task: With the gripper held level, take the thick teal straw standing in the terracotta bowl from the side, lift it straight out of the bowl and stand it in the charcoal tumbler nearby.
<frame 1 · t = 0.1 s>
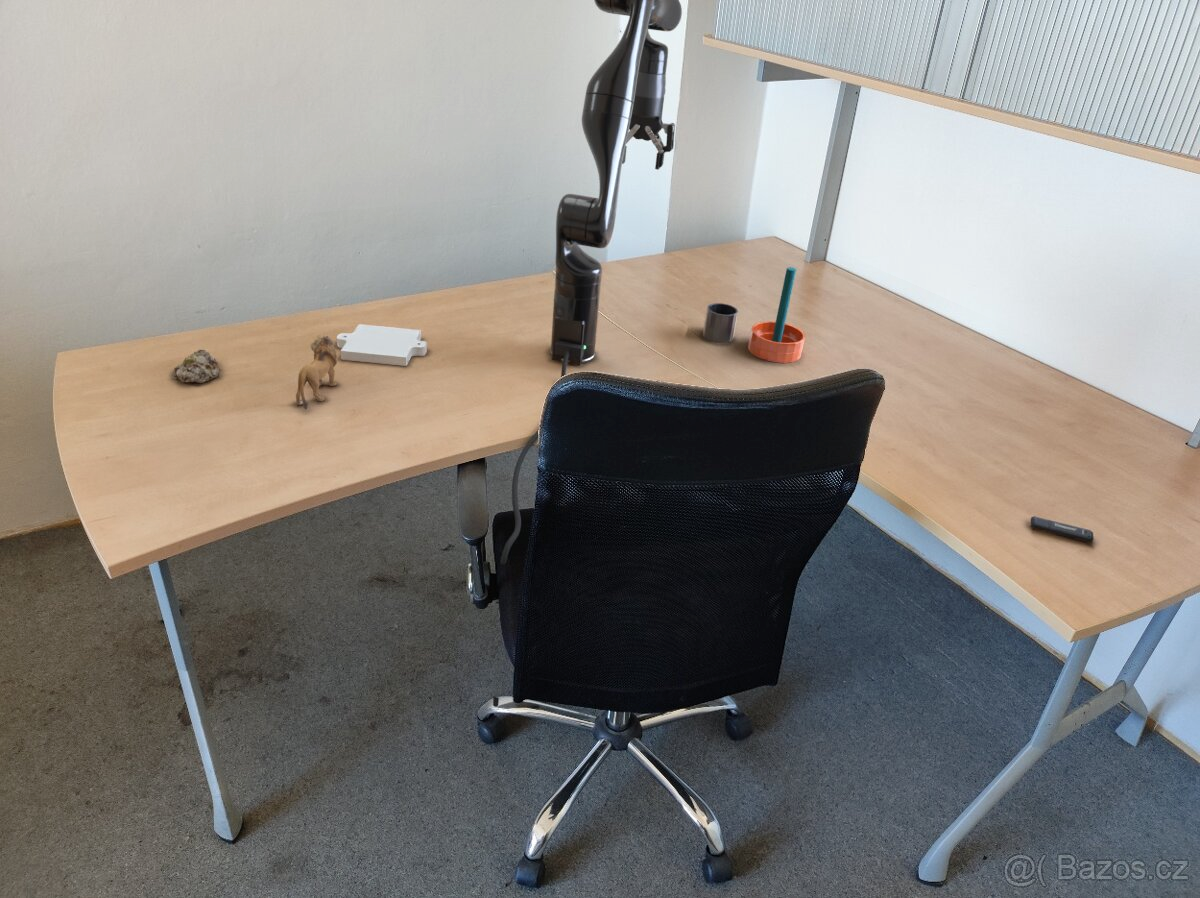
hand: (640, 165, 208), 29 cm above the table, tool pointing down, fingers open, 8 cm apart
usb stick: (1059, 533, 145), on the table
bowl: (773, 353, 196), on the table
mineral rock: (199, 373, 166), on the table
crystal cluster: (666, 425, 165), on the table
mounting plate: (382, 349, 181), on the table
lion figurine: (317, 392, 164), on the table
tumbler: (717, 338, 200), on the table
straw: (774, 350, 195), resting on bowl
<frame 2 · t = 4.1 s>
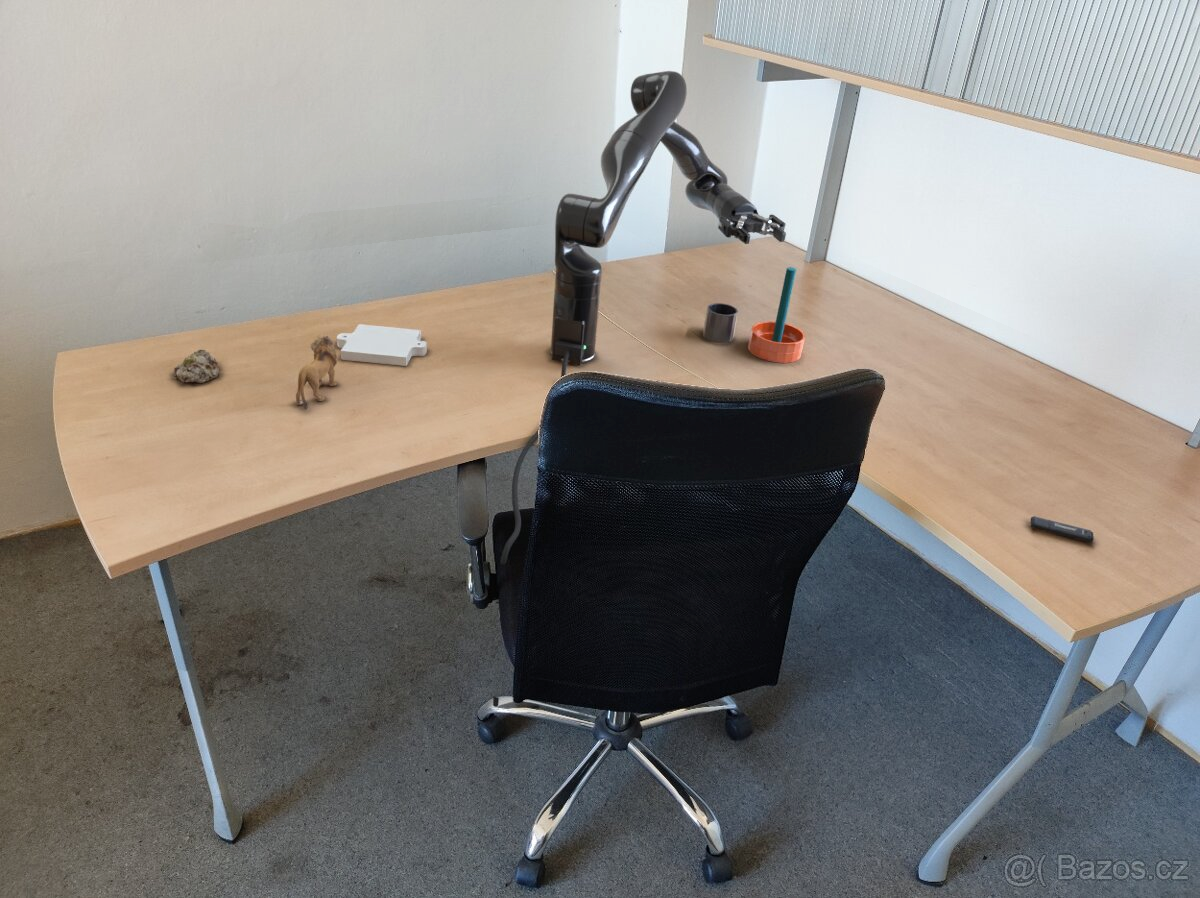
hand: (766, 238, 193), 22 cm above the table, tool horizontal, fingers open, 8 cm apart
nothing on the table moved.
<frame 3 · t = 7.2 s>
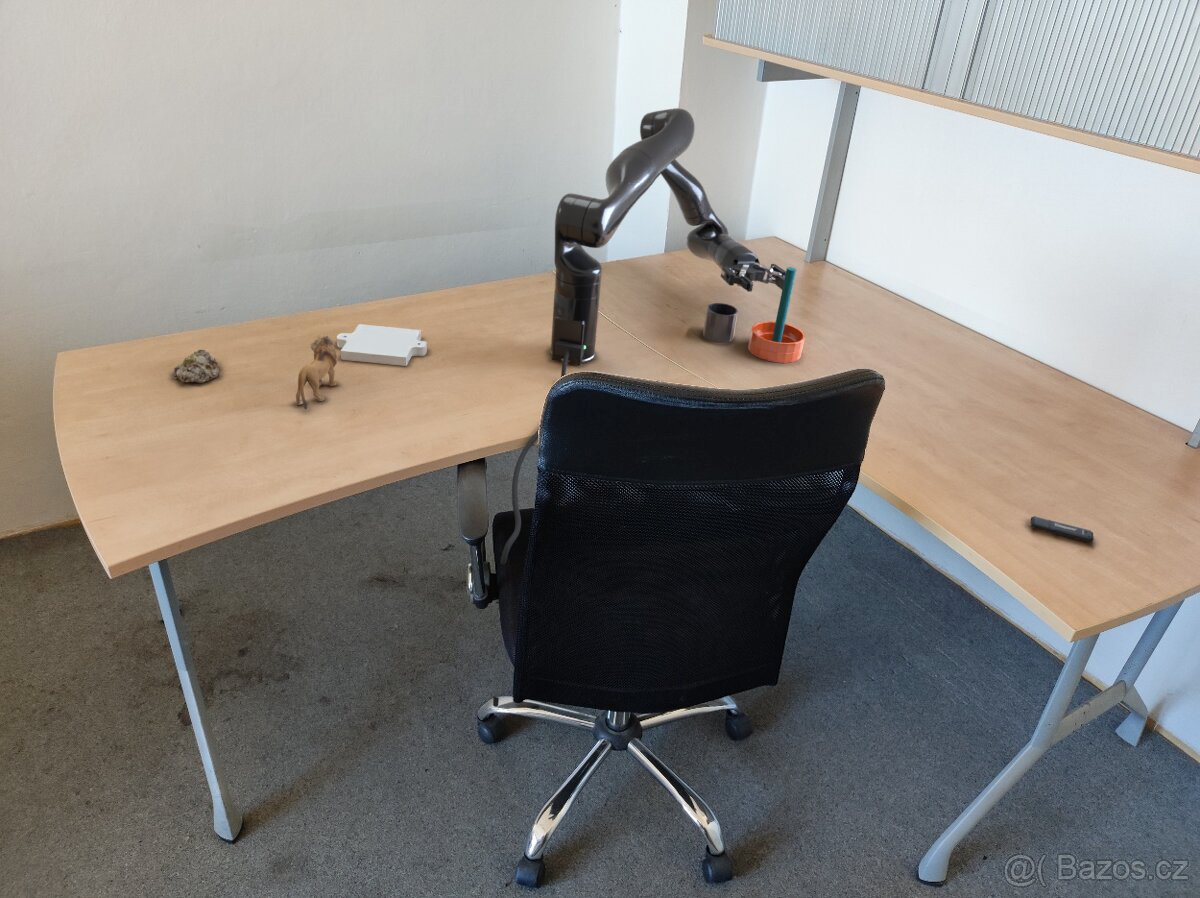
hand: (768, 286, 195), 12 cm above the table, tool horizontal, fingers open, 8 cm apart
nothing on the table moved.
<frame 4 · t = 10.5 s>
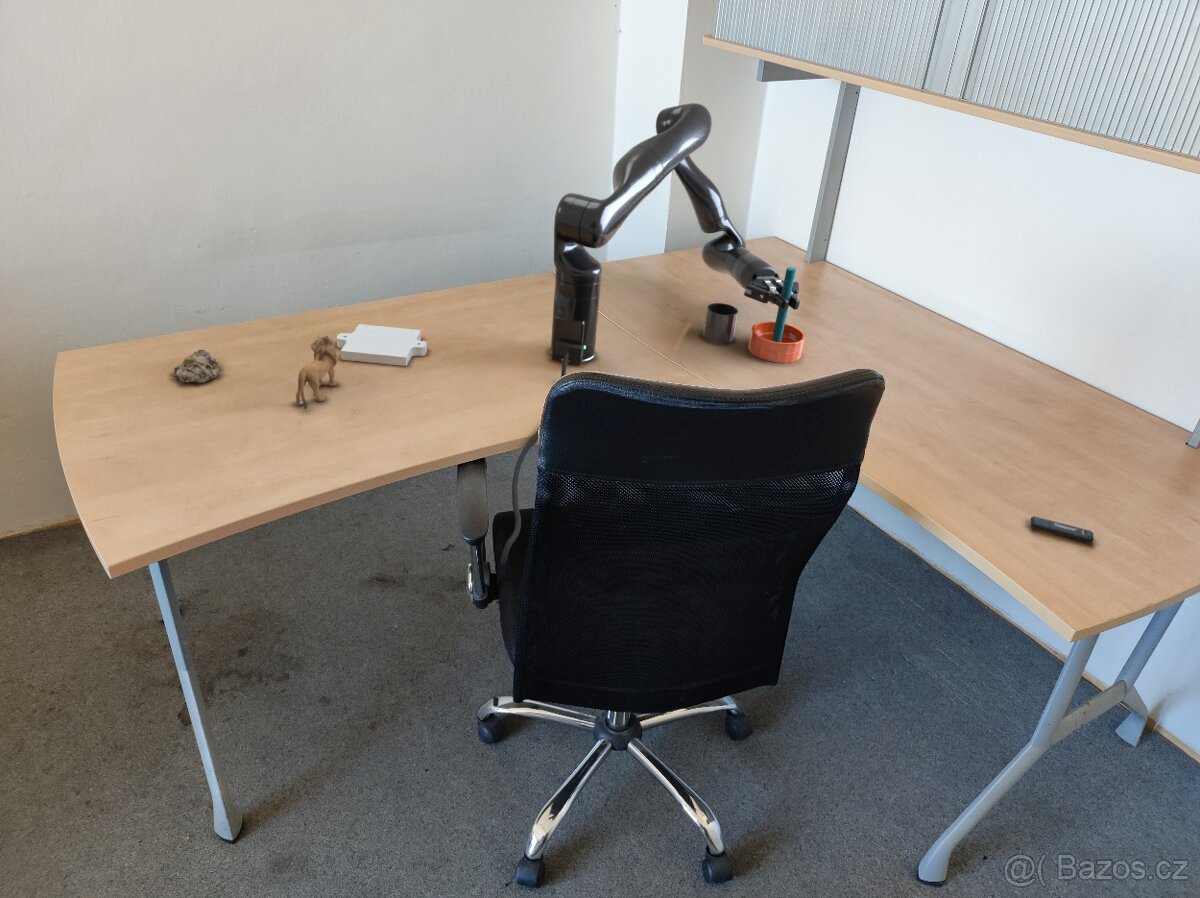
hand: (791, 305, 187), 12 cm above the table, tool horizontal, fingers closed on straw, 2 cm apart
straw: (774, 350, 195), point 1 cm above the table, touching bowl, gripper
everything else where it was.
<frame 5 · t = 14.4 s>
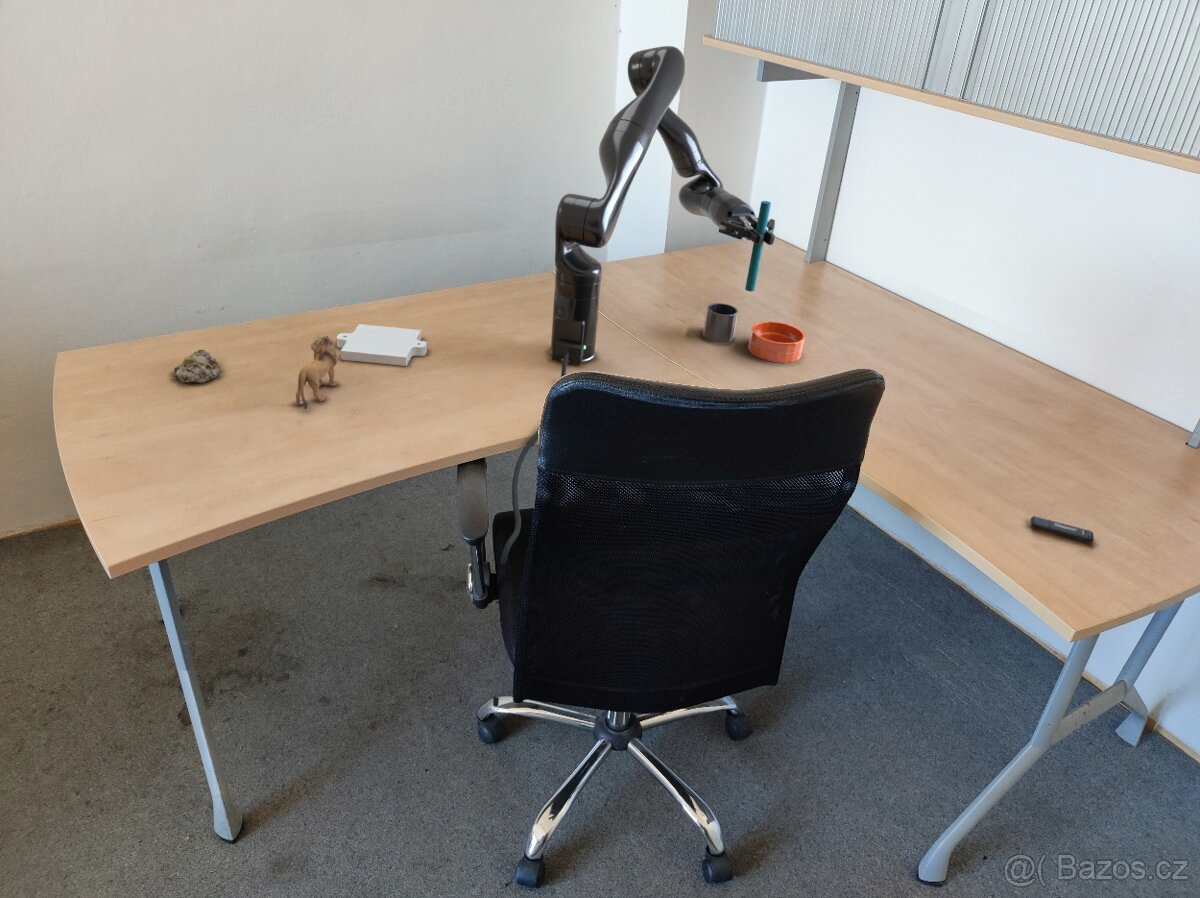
hand: (766, 240, 183), 25 cm above the table, tool horizontal, fingers closed on straw
straw: (749, 289, 191), point 13 cm above the table, touching gripper
everything else where it was.
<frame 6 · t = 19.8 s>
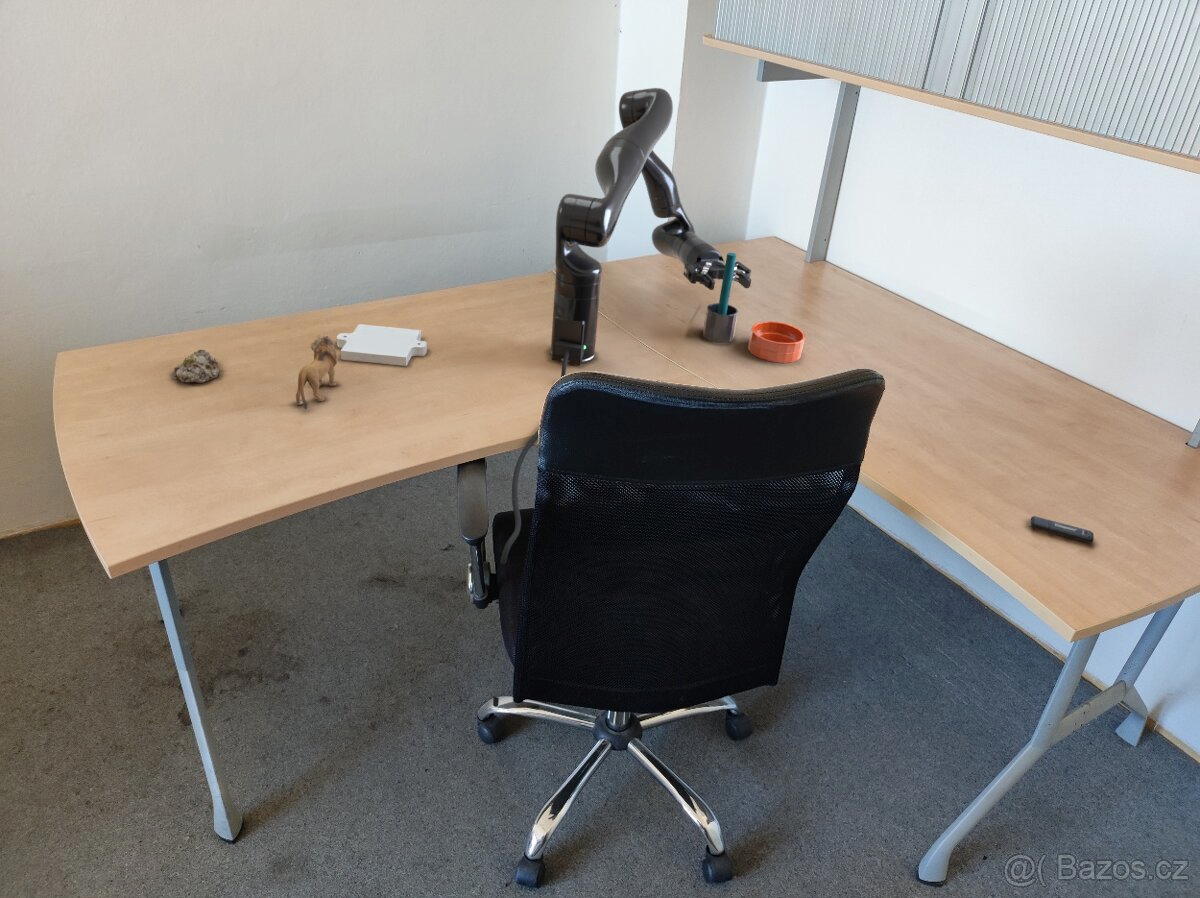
hand: (731, 285, 191), 13 cm above the table, tool horizontal, fingers open, 8 cm apart
straw: (718, 335, 200), point 1 cm above the table, touching tumbler
everything else where it was.
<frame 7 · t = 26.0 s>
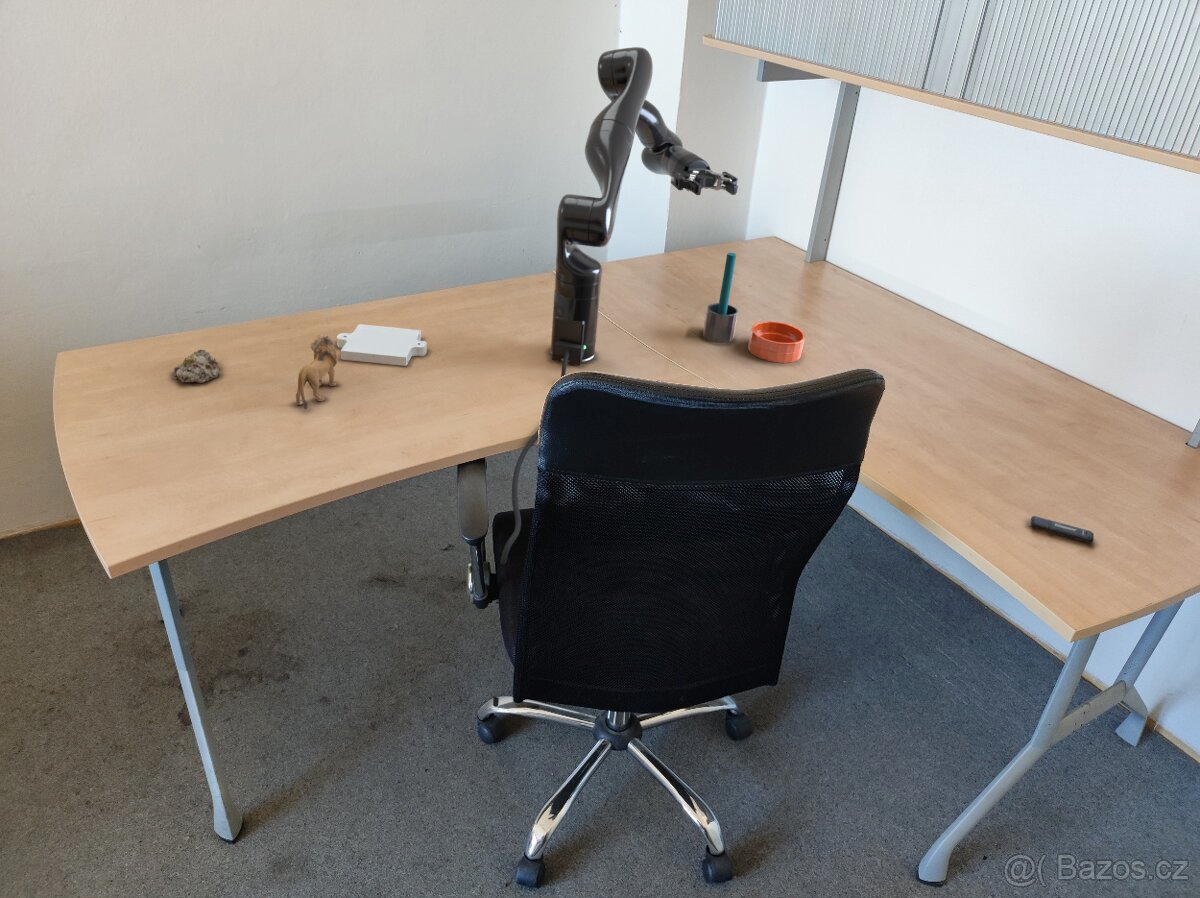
hand: (717, 190, 193), 30 cm above the table, tool horizontal, fingers open, 8 cm apart
nothing on the table moved.
at the end: straw touching tumbler; straw 0.1 cm off-centre in the tumbler, point 0.6 cm above the tumbler's base; straw tilted 0° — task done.
